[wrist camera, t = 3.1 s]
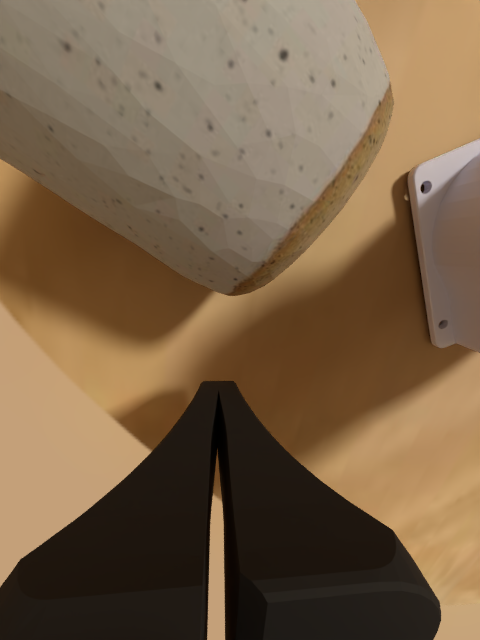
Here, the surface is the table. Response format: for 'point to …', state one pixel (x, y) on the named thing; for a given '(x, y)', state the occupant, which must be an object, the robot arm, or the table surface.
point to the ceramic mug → (196, 122)
